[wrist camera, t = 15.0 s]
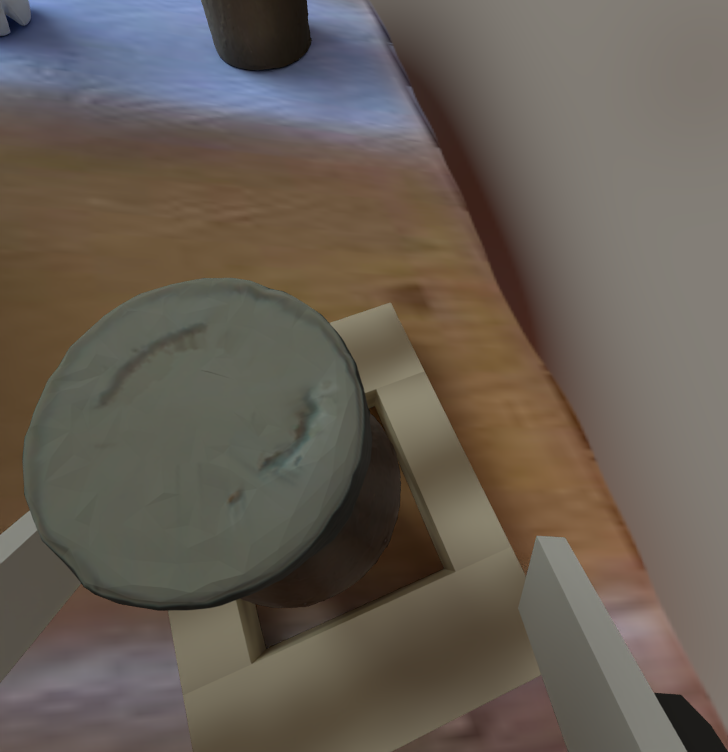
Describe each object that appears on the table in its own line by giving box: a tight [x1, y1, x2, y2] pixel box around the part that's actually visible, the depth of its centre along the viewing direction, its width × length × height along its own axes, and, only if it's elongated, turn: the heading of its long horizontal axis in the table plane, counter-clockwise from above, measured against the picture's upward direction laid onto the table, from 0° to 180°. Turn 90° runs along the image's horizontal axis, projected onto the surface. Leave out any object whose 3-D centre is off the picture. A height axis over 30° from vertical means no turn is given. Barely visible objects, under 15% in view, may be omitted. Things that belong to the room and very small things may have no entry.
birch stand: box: [168, 303, 541, 752], centre depth 22 cm, size 20×16×3 cm
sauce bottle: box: [23, 278, 401, 610], centre depth 14 cm, size 6×6×20 cm
